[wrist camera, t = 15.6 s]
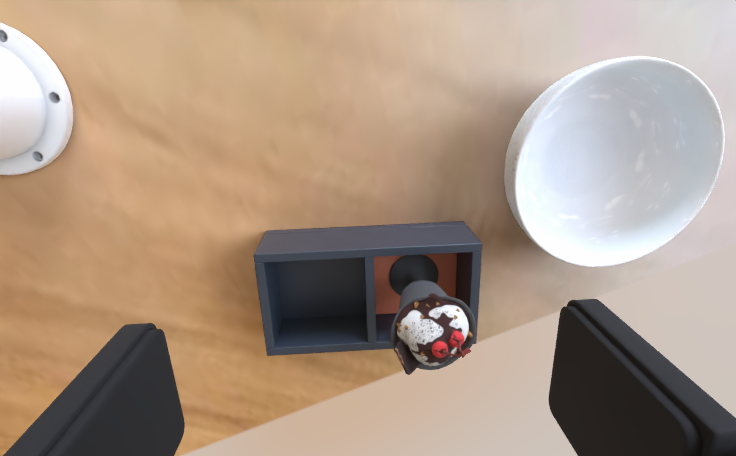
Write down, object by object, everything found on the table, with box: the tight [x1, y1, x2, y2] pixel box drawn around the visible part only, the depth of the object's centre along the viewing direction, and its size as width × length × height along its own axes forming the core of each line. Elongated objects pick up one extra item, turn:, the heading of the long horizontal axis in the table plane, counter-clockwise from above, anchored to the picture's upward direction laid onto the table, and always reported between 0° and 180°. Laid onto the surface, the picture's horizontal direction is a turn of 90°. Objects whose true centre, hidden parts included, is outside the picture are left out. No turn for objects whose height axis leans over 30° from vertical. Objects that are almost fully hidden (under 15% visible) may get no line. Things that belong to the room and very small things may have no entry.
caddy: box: [254, 221, 482, 356], centre depth 40 cm, size 10×19×6 cm, turn 92°
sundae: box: [389, 255, 476, 375], centre depth 34 cm, size 7×7×15 cm
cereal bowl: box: [504, 56, 724, 267], centre depth 36 cm, size 17×17×7 cm
